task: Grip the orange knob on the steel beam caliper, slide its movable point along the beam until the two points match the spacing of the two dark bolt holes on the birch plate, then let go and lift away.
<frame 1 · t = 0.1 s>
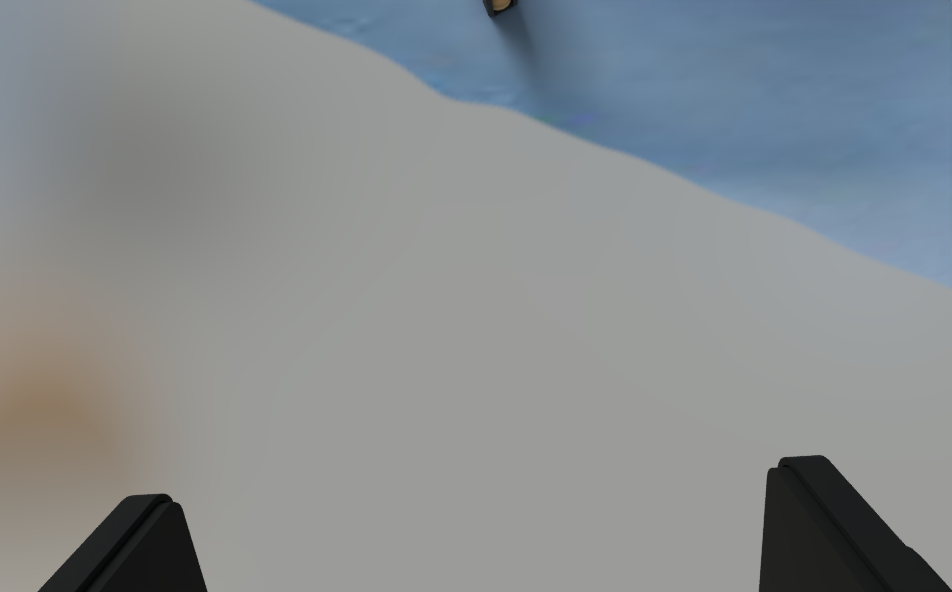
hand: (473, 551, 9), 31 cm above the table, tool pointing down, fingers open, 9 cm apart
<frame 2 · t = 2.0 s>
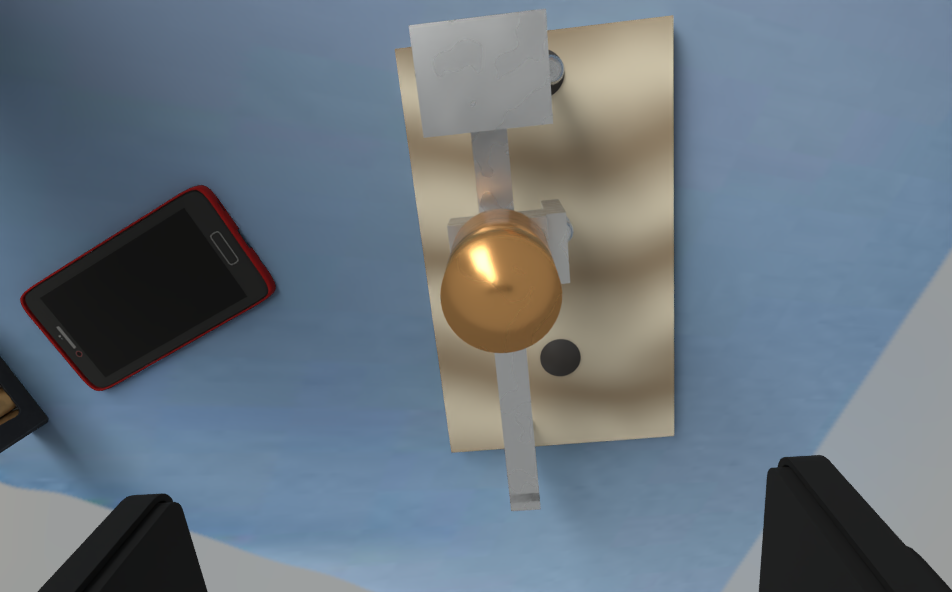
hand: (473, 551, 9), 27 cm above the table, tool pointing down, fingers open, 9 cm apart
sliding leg: (516, 251, 25), point 10 cm above the table, slide at 7.0 cm
cell phone: (154, 289, 37), on the table
hole plate: (546, 254, 35), on the table
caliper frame: (486, 80, 32), resting on hole plate
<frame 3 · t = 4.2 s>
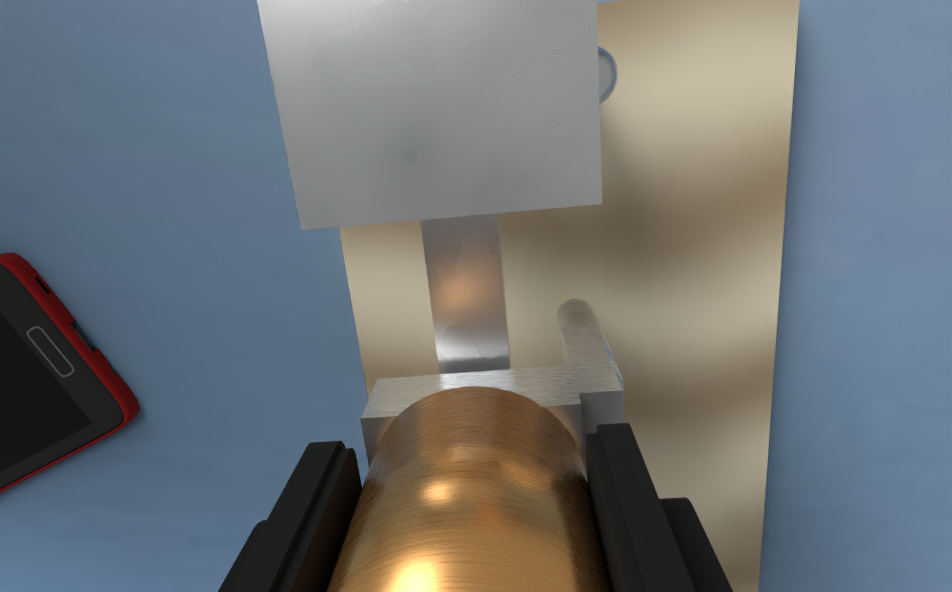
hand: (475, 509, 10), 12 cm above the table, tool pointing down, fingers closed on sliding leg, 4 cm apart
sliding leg: (513, 457, 12), point 10 cm above the table, slide at 7.0 cm, touching gripper
hole plate: (562, 368, 22), on the table
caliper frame: (468, 91, 19), resting on hole plate
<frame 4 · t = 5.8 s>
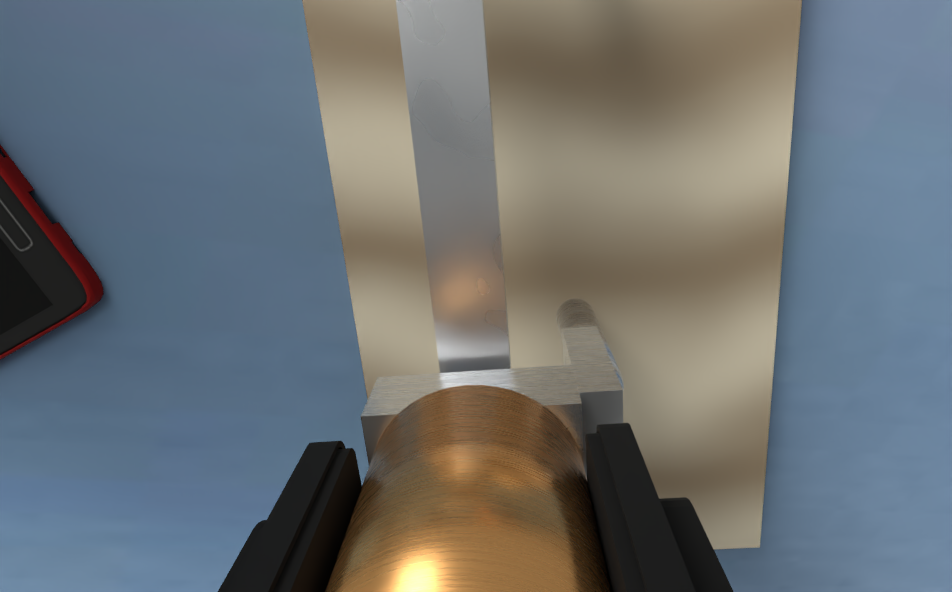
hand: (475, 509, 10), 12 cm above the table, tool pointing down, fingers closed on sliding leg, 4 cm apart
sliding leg: (513, 457, 12), point 10 cm above the table, slide at 11.8 cm, touching gripper
hole plate: (555, 243, 21), on the table
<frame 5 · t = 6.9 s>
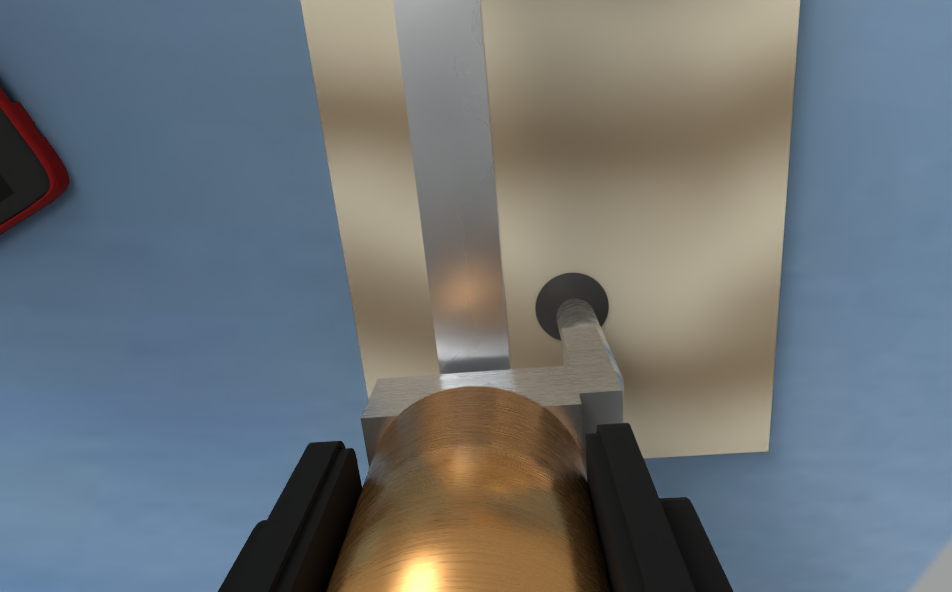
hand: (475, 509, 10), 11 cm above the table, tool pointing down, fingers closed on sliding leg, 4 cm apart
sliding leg: (513, 457, 12), point 10 cm above the table, slide at 15.9 cm, touching gripper
hole plate: (549, 118, 19), on the table
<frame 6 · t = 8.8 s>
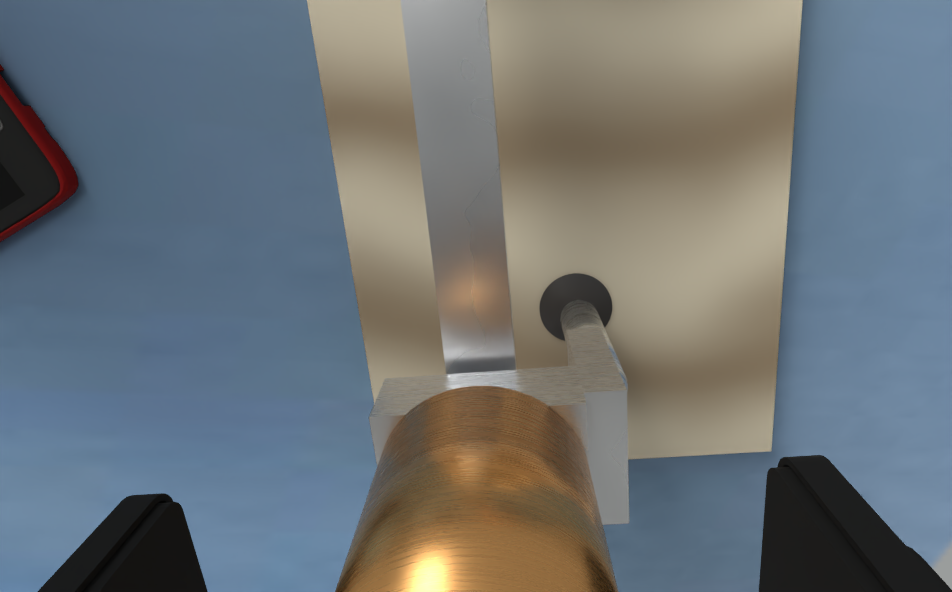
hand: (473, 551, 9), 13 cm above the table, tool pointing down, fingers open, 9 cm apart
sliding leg: (519, 456, 12), point 10 cm above the table, slide at 16.0 cm
hole plate: (553, 120, 19), on the table
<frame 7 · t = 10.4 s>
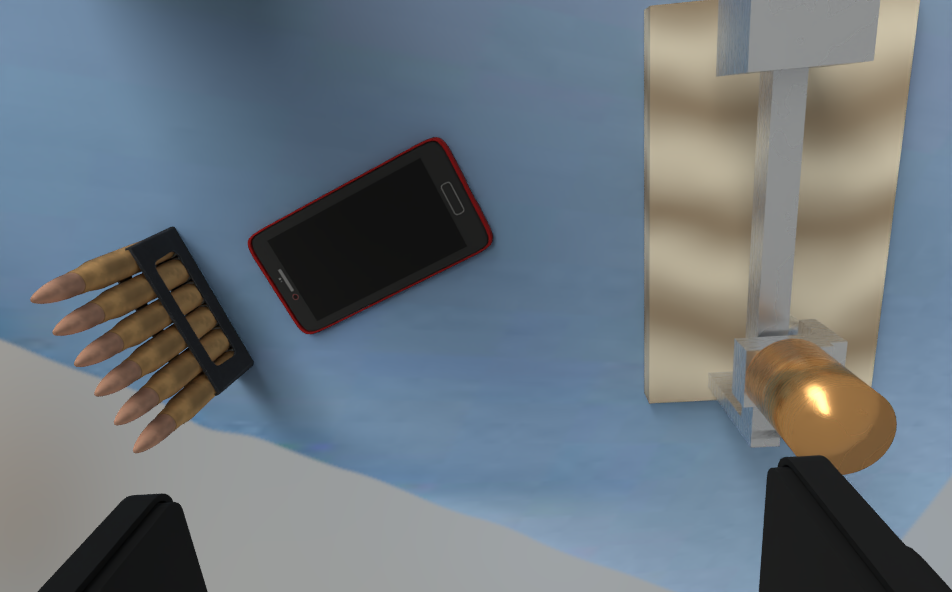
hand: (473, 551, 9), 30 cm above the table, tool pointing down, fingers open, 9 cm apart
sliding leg: (796, 370, 29), point 10 cm above the table, slide at 16.0 cm
cell phone: (371, 238, 39), on the table
ammunition clip: (205, 301, 41), on the table
hole plate: (759, 211, 37), on the table
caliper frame: (724, 40, 34), resting on hole plate
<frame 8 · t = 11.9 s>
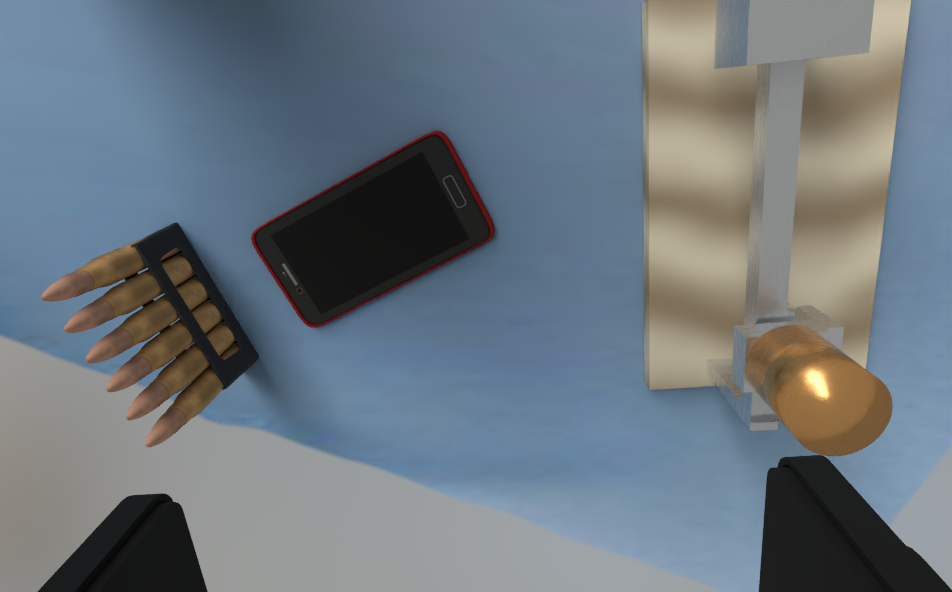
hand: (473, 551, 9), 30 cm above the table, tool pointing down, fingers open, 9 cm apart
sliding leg: (794, 355, 30), point 10 cm above the table, slide at 16.0 cm
cell phone: (374, 231, 40), on the table
ammunition clip: (210, 296, 41), on the table
hole plate: (756, 200, 37), on the table
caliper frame: (721, 32, 34), resting on hole plate
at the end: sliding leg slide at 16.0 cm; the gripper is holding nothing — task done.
